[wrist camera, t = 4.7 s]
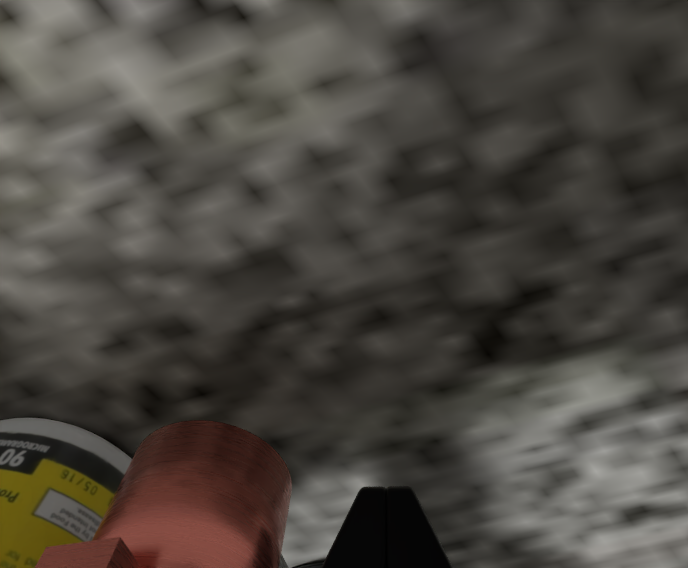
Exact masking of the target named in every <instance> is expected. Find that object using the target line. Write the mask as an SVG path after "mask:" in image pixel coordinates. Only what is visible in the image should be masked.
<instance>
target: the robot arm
mask: <svg viewBox="0 0 688 568" xmlns="http://www.w3.org/2000/svg"><path fill="white" fill-rule="evenodd" d="M321 568H453V567H452V565H451V563H450V561H449V559H448V557H447V555H446V553H445V551H444V549H443V547H442V545H441V543H440V541H439V539H438V537H437V535H436V533H435V532H434V530H433V528H432V526H431V524H430V522H429V520H428V518H427V516H426V514H425V512H424V510H423V508H422V506H421V504H420V502H419V500H418V498H417V496H416V494H415V492H414V491H413V489H412V488H411V487H409V486H390V487H388V488H385V487H363V488H361V489H360V491H359V492H358V494H357V496H356V498H355V500H354V502H353V504H352V506H351V508H350V510H349V512H348V514H347V516H346V519H345V521H344V523H343V525H342V527H341V529H340V531H339V533H338V535H337V537H336V539H335V541H334V543H333V545H332V547H331V549H330V551H329V553H328V555H327V557H326V559H325V561H324V563H323V565H322V567H321Z"/></svg>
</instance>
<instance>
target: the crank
mask: <svg viewBox="0 0 688 568" xmlns="http://www.w3.org/2000/svg"><path fill="white" fill-rule="evenodd" d="M291 491H292V482H291V476H290V473H289V470H288V468H287V466H286V464H285V462H284V461H283V459H282V458H281V457H280V455H279V454H278V453H277V452H276V451H275V450H274V449H273V448H272V447H271V446H270V445H269V444H267V443H266V442H265V441H263V440H262V439H260V438H259V437H257V436H256V435H254V434H252V433H250V432H248V431H246V430H243V429H241V428H238V427H236V426H232V425H229V424H225V423H220V422H214V421H204V420H194V421H183V422H178V423H174V424H170V425H167V426H164V427H162V428H160V429H158V430H156V431H154V432H153V433H151V434H150V435H149V436H147V437H146V438H145V439H144V440H143V441H142V443H141V444H140V446H139V447H138V449H137V451H136V453H135V455H134V457H133V459H132V461H131V463H130V465H129V467H128V469H127V471H126V473H125V475H124V477H123V479H122V481H121V483H120V485H119V487H118V489H117V491H116V493H115V495H114V497H113V499H112V501H111V503H110V505H109V507H108V509H107V511H106V513H105V515H104V517H103V519H102V521H101V523H100V525H99V527H98V529H97V531H96V533H95V535H94V537H93V539H92V541H87V542H79V543H72V544H64V545H57V546H50V547H46V548H45V550H44V552H43V554H42V555H41V557H40V559H39V561H38V563H37V564H36V566H35V568H288V566H287V564H286V562H285V560H284V558H283V556H282V554H281V551H282V545H283V539H284V533H285V527H286V521H287V515H288V509H289V503H290V497H291Z"/></svg>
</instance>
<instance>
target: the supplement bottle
mask: <svg viewBox="0 0 688 568" xmlns="http://www.w3.org/2000/svg"><path fill="white" fill-rule="evenodd" d="M131 461H132V458H130V457H129V456H128V455H127V454H125V453H124V452H123V451H121V450H120V449H119V448H117V447H116V446H114V445H113V444H111V443H110V442H108V441H106V440H105V439H103V438H101V437H100V436H98V435H96V434H94V433H92V432H89V431H87V430H85V429H82V428H80V427H77V426H74V425H71V424H67V423H64V422H60V421H54V420H49V419H42V418H13V419H6V420H1V421H0V568H35V566H36V564H37V563H38V561H39V559H40V557H41V555H42V554H43V552H44V550H45V548H46V547H50V546H57V545H64V544H72V543H79V542H87V541H92V539H93V537H94V535H95V533H96V531H97V529H98V527H99V525H100V523H101V521H102V519H103V517H104V515H105V513H106V511H107V509H108V507H109V505H110V503H111V501H112V499H113V497H114V495H115V493H116V491H117V489H118V487H119V485H120V483H121V481H122V479H123V477H124V475H125V473H126V471H127V469H128V467H129V465H130V463H131Z"/></svg>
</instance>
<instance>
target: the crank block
mask: <svg viewBox="0 0 688 568" xmlns="http://www.w3.org/2000/svg"><path fill="white" fill-rule="evenodd" d="M323 563H324V562H322V563H314V564H309V565H304V566H300V567H297V568H321V567H322V565H323Z"/></svg>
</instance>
